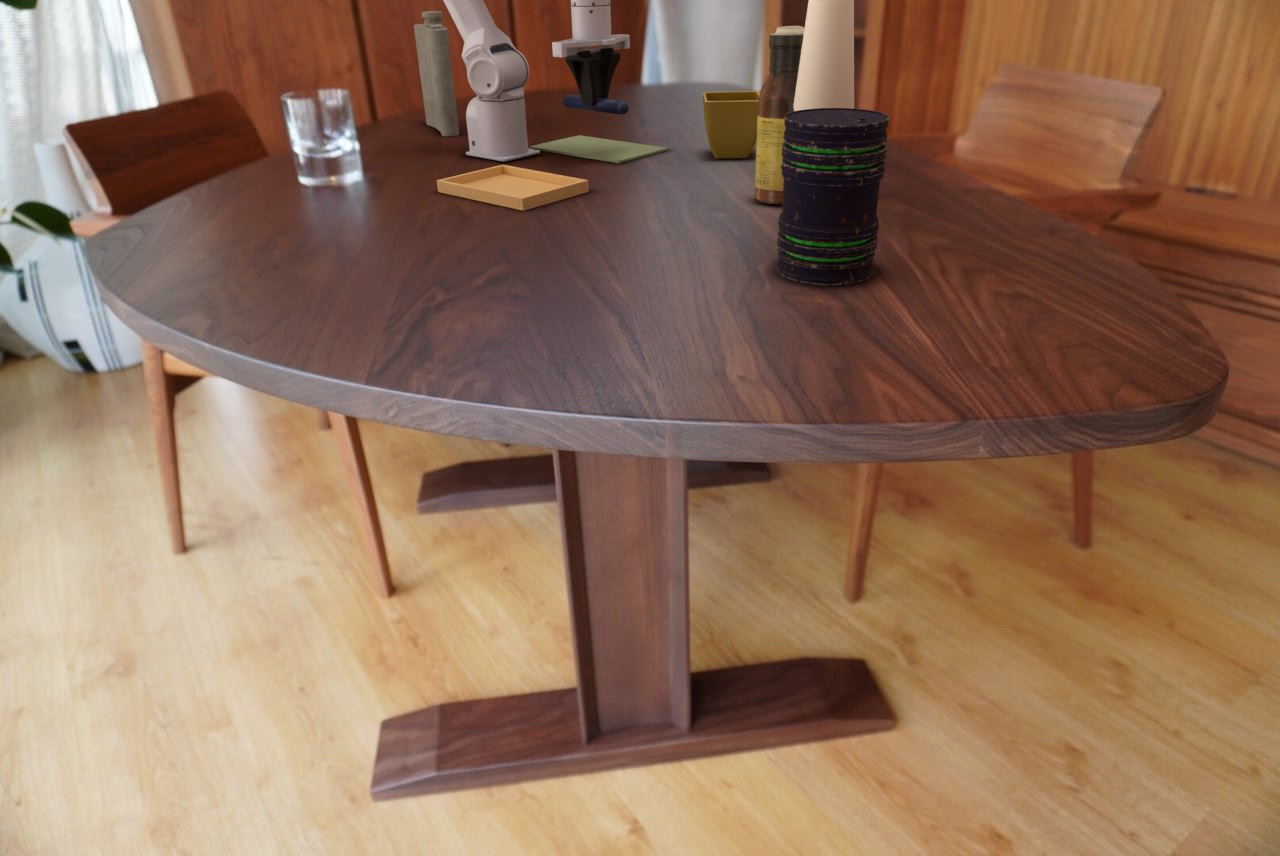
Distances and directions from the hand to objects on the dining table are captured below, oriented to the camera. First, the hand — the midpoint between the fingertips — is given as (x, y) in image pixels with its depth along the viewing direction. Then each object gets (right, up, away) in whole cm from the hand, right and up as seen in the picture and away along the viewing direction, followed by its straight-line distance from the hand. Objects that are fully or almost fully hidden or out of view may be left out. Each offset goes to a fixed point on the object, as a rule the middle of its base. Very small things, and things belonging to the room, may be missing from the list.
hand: (594, 104), depth 137 cm
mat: (0, -3, +11) cm, 12 cm away
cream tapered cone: (+28, -25, -29) cm, 47 cm away
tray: (-11, -17, -13) cm, 24 cm away
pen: (0, -1, 0) cm, 1 cm away
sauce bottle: (+25, -20, -20) cm, 38 cm away
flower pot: (+21, -7, +5) cm, 23 cm away
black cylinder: (+26, -33, -45) cm, 62 cm away
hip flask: (-30, +7, +32) cm, 44 cm away
